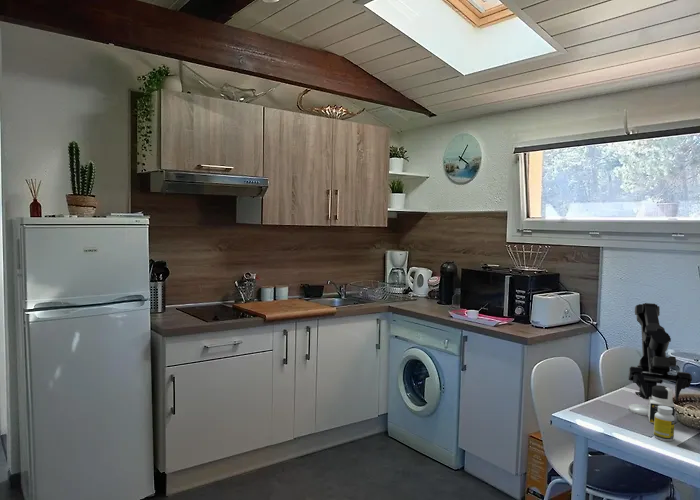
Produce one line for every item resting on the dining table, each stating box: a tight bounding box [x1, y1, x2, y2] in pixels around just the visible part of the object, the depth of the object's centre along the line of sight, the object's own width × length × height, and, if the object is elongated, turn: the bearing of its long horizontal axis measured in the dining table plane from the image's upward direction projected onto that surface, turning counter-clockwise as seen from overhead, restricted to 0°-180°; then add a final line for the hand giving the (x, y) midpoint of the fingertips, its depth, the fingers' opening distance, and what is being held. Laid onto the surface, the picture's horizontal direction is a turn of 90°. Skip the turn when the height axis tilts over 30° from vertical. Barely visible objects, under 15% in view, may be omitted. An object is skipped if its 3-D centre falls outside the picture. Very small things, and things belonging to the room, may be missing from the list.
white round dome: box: [628, 403, 649, 417], centre depth 183 cm, size 9×9×1 cm
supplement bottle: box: [653, 406, 676, 442], centre depth 159 cm, size 5×5×10 cm
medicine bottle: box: [647, 384, 676, 424], centre depth 173 cm, size 7×7×12 cm
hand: (661, 398), depth 173 cm, fingers open, 9 cm apart
